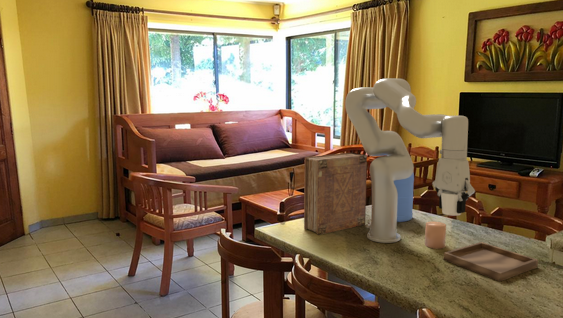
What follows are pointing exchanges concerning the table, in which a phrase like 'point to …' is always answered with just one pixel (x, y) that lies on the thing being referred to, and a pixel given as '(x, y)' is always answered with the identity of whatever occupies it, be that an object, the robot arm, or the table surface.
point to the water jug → (404, 198)
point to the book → (334, 192)
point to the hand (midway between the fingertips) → (451, 209)
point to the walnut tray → (491, 261)
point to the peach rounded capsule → (435, 235)
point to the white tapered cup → (449, 203)
